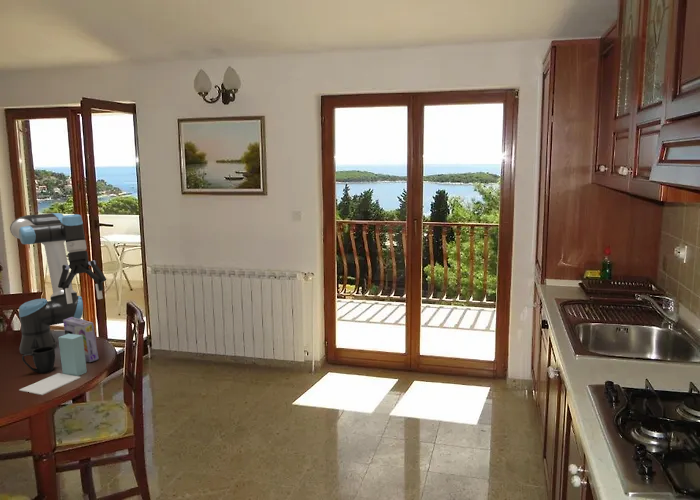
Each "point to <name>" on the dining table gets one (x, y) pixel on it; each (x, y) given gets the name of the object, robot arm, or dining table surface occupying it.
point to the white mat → (49, 384)
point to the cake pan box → (88, 333)
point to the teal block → (72, 354)
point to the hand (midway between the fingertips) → (85, 301)
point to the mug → (42, 359)
